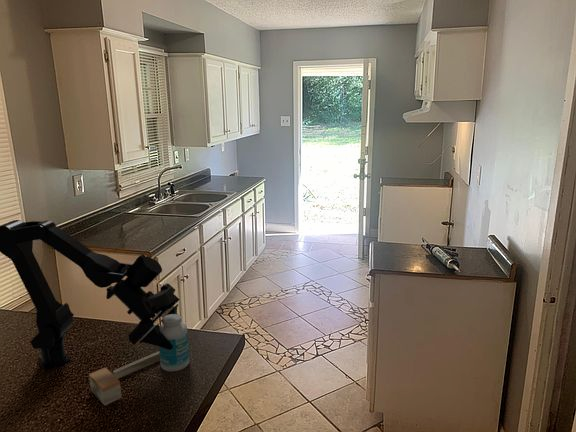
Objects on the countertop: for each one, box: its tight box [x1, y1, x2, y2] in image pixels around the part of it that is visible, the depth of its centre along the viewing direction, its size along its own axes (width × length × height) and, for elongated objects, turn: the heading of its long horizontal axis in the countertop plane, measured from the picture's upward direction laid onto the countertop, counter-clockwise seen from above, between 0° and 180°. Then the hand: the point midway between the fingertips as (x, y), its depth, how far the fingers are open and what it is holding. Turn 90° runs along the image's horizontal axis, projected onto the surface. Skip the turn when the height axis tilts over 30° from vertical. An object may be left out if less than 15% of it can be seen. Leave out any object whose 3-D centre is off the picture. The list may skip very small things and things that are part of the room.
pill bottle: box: [158, 313, 190, 372], centre depth 114 cm, size 8×7×14 cm
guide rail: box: [112, 350, 160, 380], centre depth 114 cm, size 1×14×2 cm, turn 135°
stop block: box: [88, 366, 123, 406], centre depth 103 cm, size 8×4×4 cm, turn 45°
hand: (178, 340), depth 113 cm, fingers closed on pill bottle, 7 cm apart
